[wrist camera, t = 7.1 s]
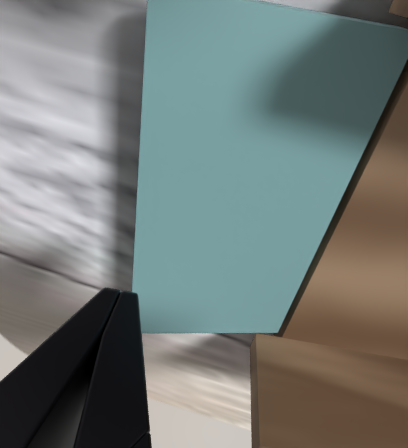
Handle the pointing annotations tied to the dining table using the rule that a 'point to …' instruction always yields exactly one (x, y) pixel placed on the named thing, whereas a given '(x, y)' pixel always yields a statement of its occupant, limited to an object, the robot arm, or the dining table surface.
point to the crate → (347, 313)
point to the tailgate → (247, 153)
